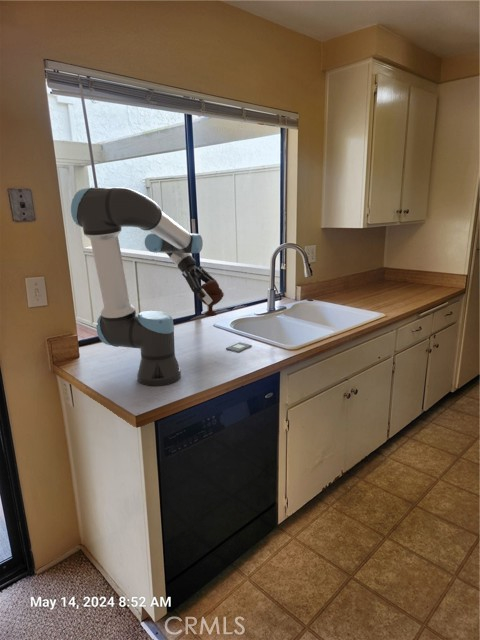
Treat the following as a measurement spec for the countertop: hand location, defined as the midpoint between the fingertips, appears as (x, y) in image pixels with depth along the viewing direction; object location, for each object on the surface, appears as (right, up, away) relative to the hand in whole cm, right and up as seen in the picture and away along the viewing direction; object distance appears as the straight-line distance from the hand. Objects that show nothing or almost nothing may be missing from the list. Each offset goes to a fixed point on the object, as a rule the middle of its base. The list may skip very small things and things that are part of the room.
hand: (216, 299), depth 172 cm
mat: (+9, -20, +3) cm, 23 cm away
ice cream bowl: (-3, -6, +3) cm, 7 cm away
